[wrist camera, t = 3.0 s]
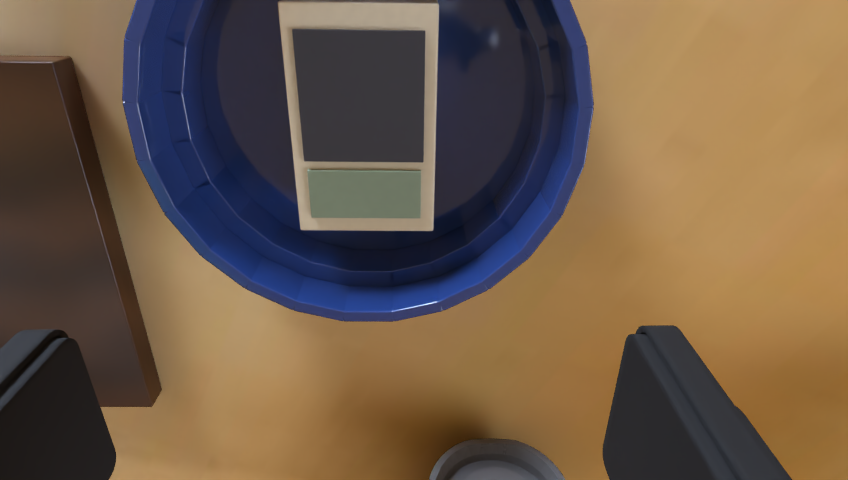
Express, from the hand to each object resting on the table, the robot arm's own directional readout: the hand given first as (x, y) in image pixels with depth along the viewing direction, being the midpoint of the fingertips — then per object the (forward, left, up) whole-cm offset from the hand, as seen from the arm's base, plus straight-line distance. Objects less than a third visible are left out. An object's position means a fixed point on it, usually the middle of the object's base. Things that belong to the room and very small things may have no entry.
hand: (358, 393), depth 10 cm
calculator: (0, -1, -19) cm, 19 cm away
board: (+8, -21, -19) cm, 29 cm away
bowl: (0, -1, -19) cm, 19 cm away
